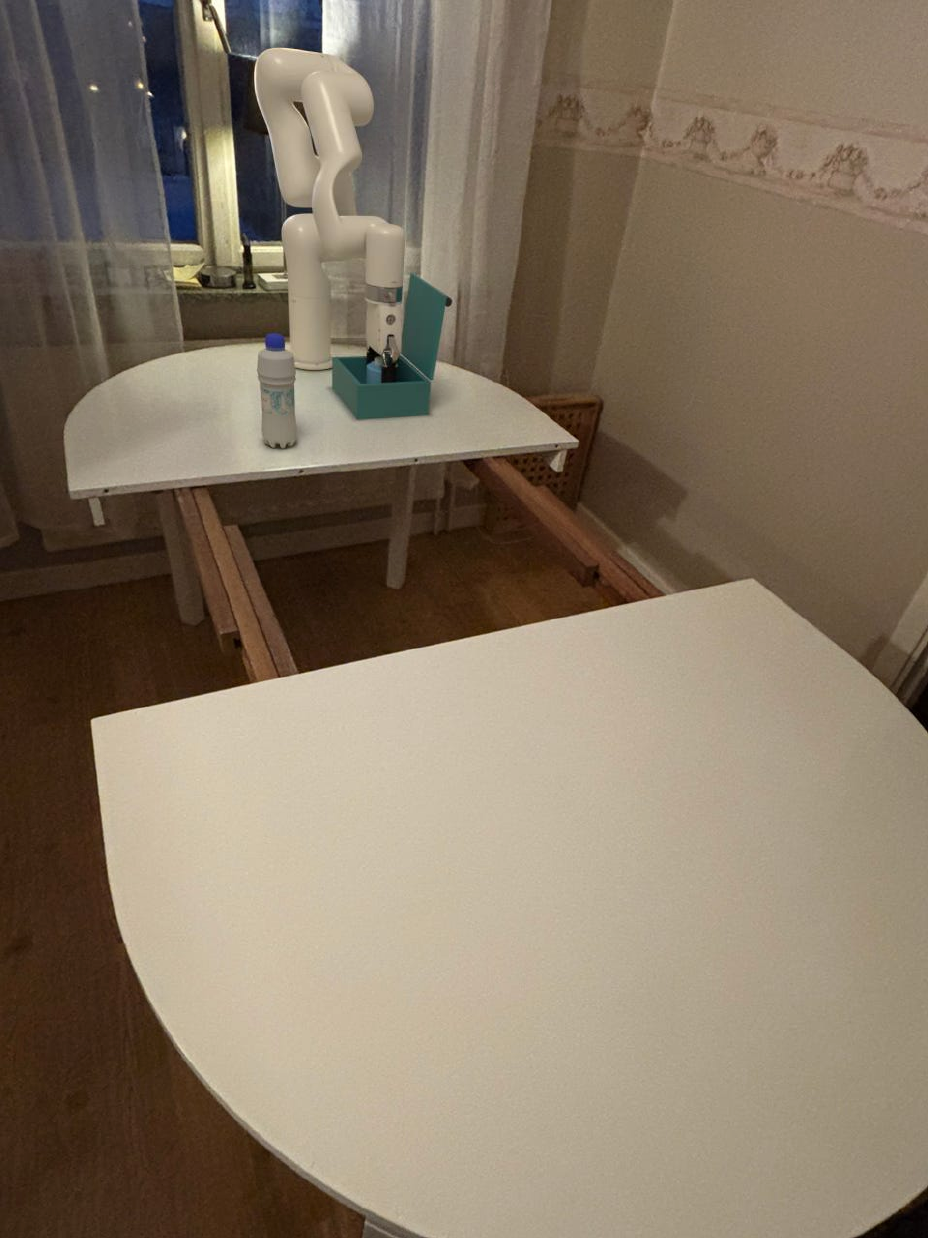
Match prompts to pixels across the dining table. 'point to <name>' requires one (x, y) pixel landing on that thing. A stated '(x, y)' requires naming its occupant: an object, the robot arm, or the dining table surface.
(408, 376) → the teal hollow box
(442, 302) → the lid
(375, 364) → the water bottle
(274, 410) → the bottle
